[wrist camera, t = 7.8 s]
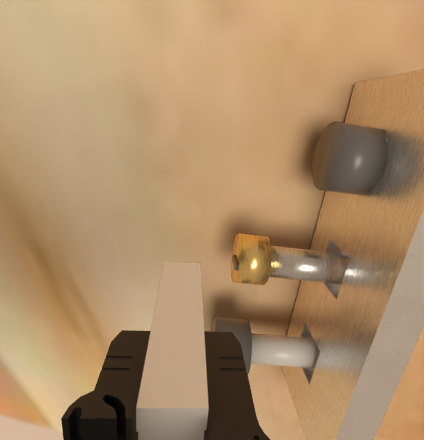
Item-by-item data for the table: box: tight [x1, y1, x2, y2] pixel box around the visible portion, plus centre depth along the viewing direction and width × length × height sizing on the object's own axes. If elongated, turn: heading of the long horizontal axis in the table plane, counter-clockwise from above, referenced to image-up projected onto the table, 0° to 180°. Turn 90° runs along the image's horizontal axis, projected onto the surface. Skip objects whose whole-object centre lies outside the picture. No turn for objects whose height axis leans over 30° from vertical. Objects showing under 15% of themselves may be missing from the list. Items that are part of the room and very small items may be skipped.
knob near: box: [312, 122, 387, 195], centre depth 23 cm, size 11×5×5 cm, turn 82°
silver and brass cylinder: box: [231, 233, 350, 285], centre depth 25 cm, size 11×4×4 cm, turn 82°
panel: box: [281, 69, 424, 440], centre depth 25 cm, size 8×30×12 cm, turn 172°
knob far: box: [211, 317, 320, 375], centre depth 28 cm, size 11×5×5 cm, turn 82°
